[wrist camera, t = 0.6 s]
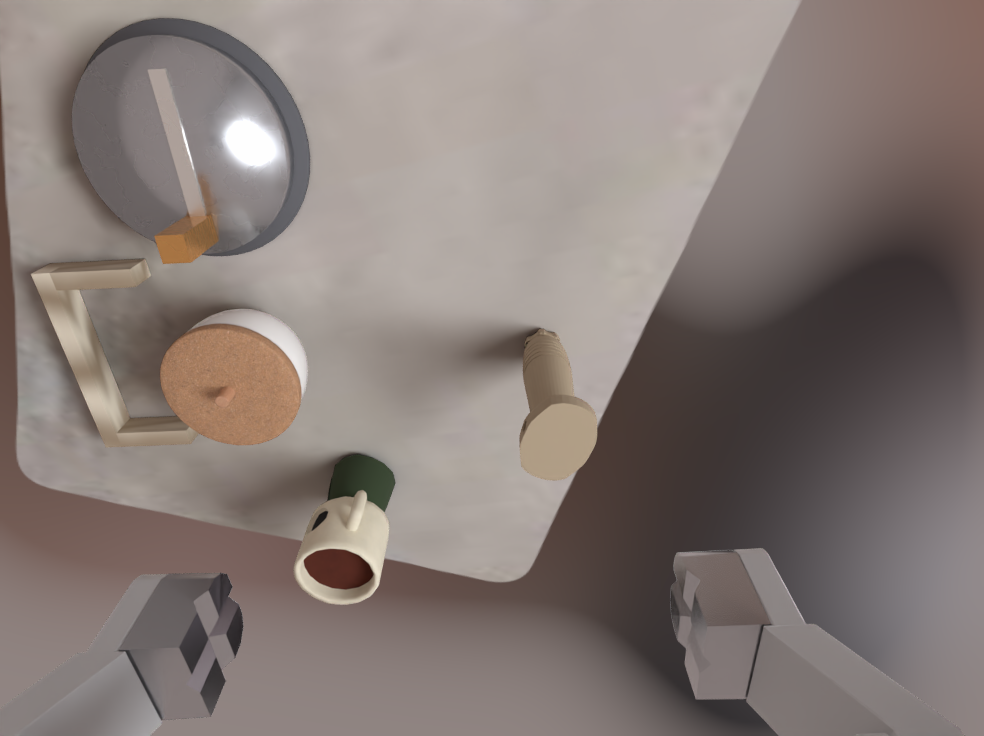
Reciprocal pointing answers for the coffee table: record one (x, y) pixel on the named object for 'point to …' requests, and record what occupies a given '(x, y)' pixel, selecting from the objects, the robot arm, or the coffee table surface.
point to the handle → (553, 412)
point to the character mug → (347, 534)
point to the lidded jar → (236, 377)
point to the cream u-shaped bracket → (88, 356)
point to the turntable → (182, 144)
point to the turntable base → (270, 82)
